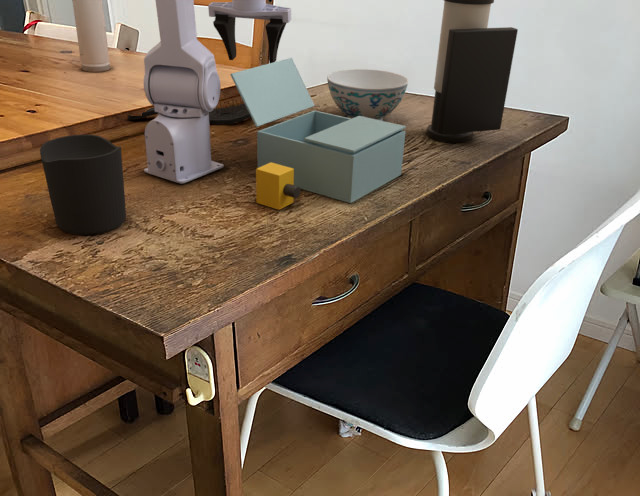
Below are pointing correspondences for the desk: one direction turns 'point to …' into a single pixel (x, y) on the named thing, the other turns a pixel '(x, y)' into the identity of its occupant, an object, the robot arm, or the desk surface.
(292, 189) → the yellow block with knob
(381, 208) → the desk surface
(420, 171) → the desk surface
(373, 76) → the chinaware
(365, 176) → the case
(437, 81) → the light fixture
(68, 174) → the pen holder
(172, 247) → the desk surface
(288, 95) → the flap
